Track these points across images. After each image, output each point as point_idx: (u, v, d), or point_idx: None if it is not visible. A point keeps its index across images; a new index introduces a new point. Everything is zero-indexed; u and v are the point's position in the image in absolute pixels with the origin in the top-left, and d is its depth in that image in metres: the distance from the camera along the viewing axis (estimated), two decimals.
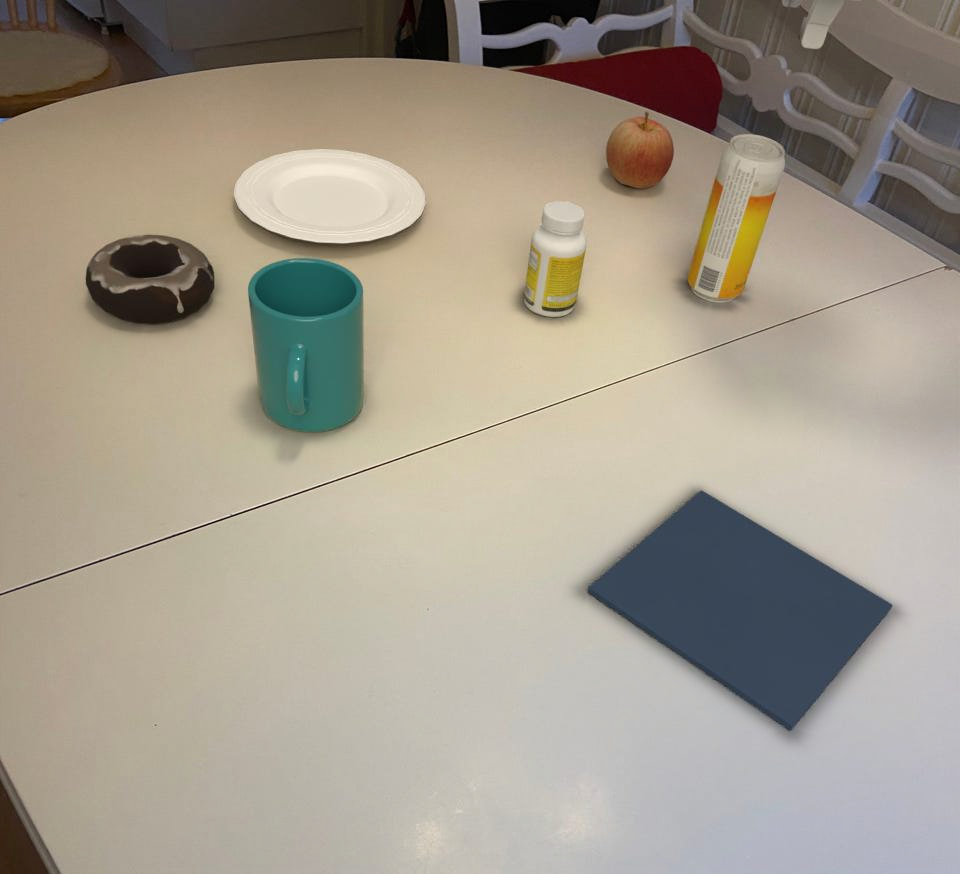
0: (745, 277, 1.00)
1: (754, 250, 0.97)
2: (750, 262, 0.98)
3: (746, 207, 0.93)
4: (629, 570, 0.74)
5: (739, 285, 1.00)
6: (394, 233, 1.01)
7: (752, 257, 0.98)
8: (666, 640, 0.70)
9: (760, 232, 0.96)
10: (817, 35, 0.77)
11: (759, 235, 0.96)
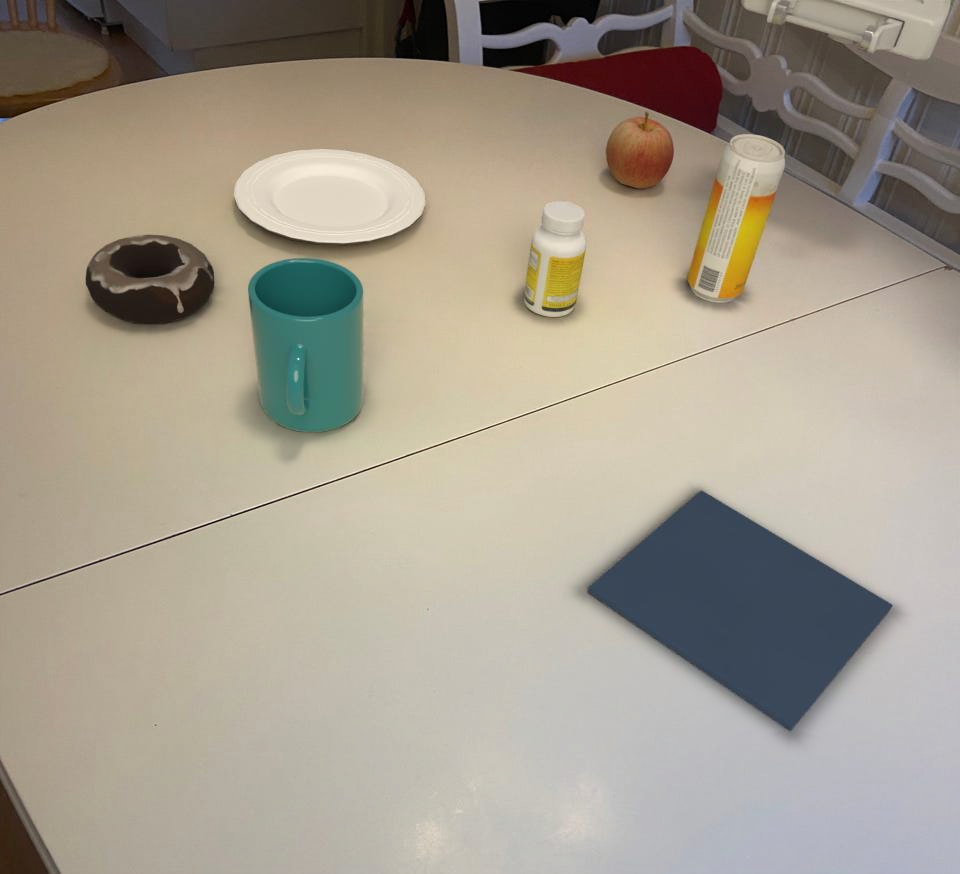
0: (745, 277, 1.00)
1: (754, 250, 0.97)
2: (750, 262, 0.98)
3: (746, 207, 0.93)
4: (629, 570, 0.74)
5: (739, 285, 1.00)
6: (394, 233, 1.01)
7: (752, 257, 0.98)
8: (666, 640, 0.70)
9: (760, 232, 0.96)
10: None
11: (759, 235, 0.96)
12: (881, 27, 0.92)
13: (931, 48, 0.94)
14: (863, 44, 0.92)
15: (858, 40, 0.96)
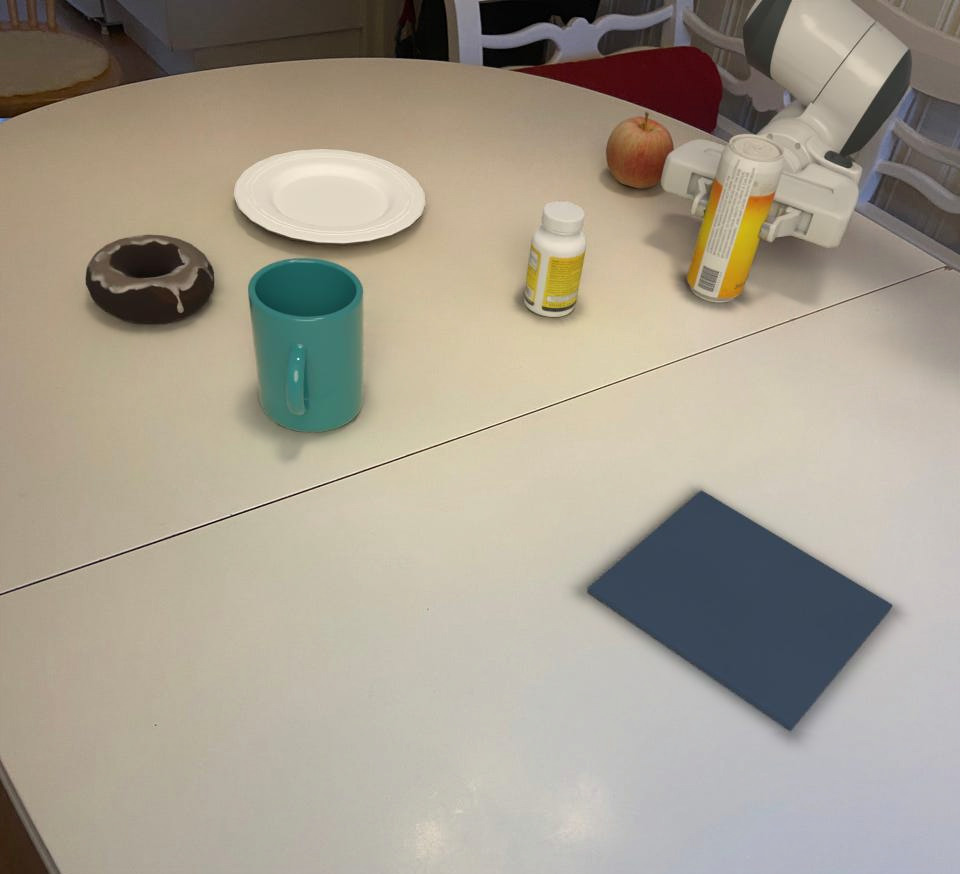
0: (745, 277, 1.00)
1: (754, 250, 0.97)
2: (750, 262, 0.98)
3: (746, 207, 0.93)
4: (629, 570, 0.74)
5: (739, 285, 1.00)
6: (394, 233, 1.01)
7: (752, 257, 0.98)
8: (666, 640, 0.70)
9: None
10: None
11: None
12: (779, 218, 0.96)
13: (839, 238, 0.97)
14: (762, 234, 0.96)
15: None
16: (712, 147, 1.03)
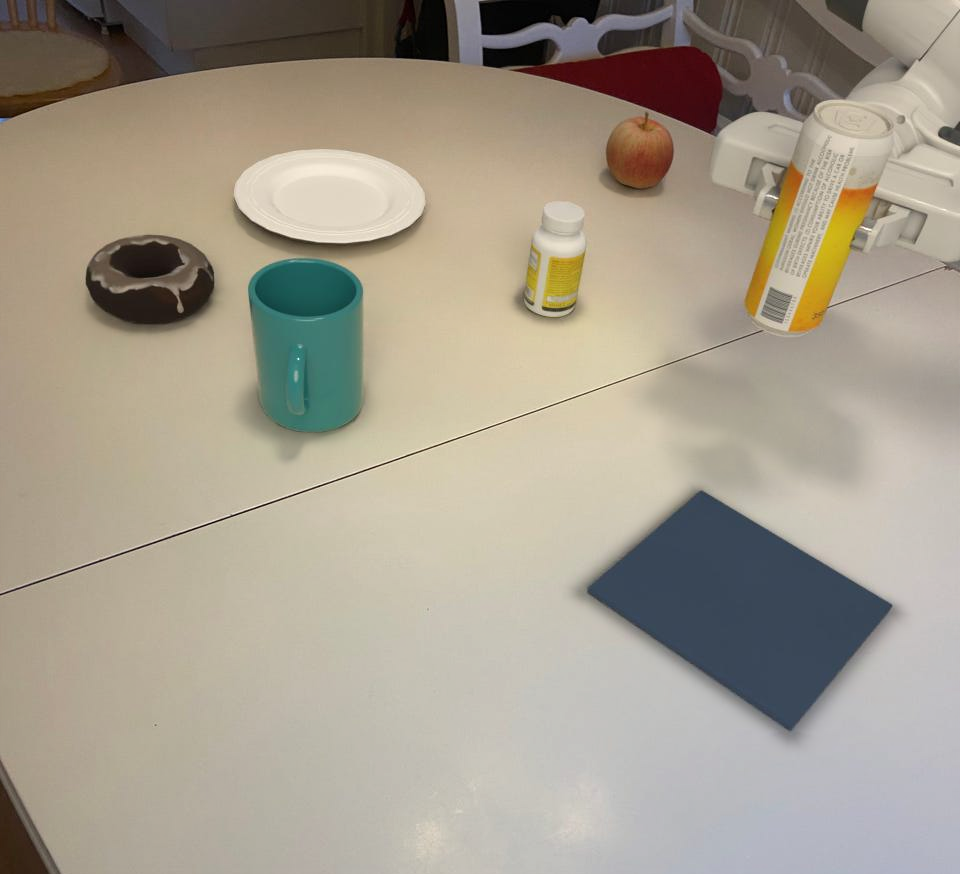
0: (827, 302, 0.71)
1: (842, 265, 0.69)
2: (835, 282, 0.70)
3: (837, 204, 0.65)
4: (629, 570, 0.74)
5: (818, 314, 0.72)
6: (394, 233, 1.01)
7: (839, 275, 0.70)
8: (666, 640, 0.70)
9: None
10: None
11: None
12: (880, 220, 0.67)
13: None
14: (856, 243, 0.67)
15: None
16: (779, 122, 0.74)
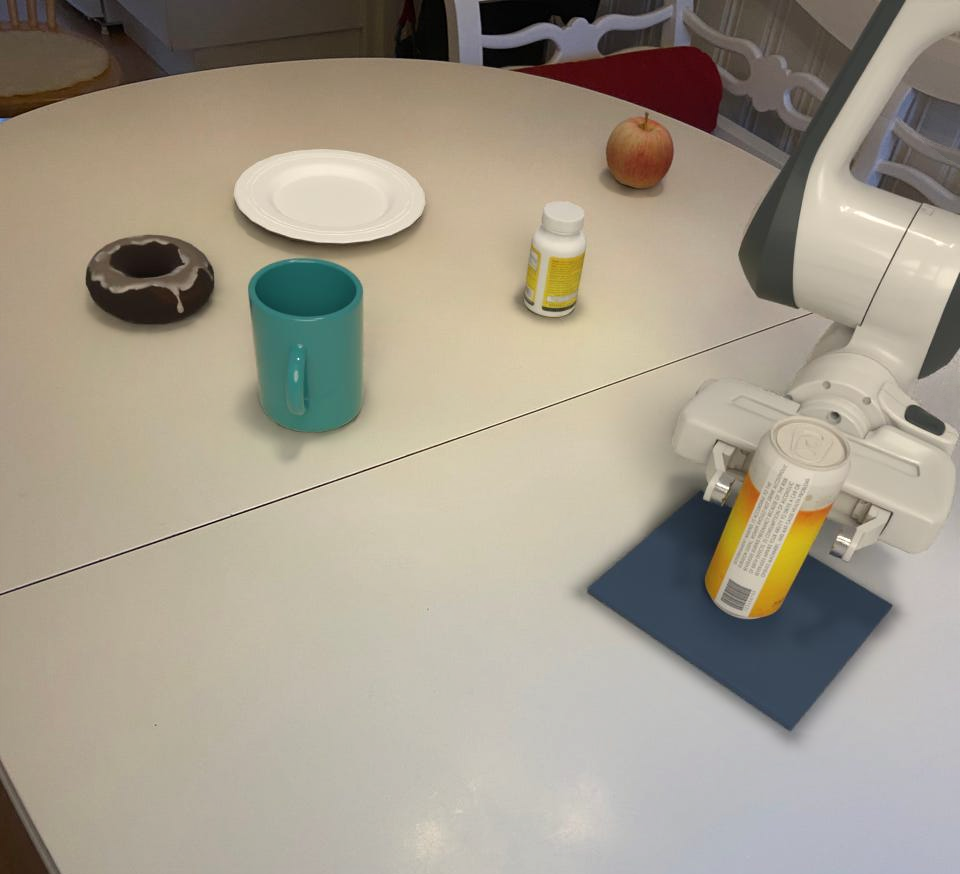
0: (787, 591, 0.71)
1: (801, 563, 0.68)
2: (795, 575, 0.69)
3: (794, 522, 0.64)
4: (629, 570, 0.74)
5: (778, 602, 0.71)
6: (394, 233, 1.01)
7: (798, 570, 0.69)
8: (666, 640, 0.70)
9: (811, 544, 0.67)
10: None
11: (809, 547, 0.67)
12: (860, 528, 0.66)
13: (930, 544, 0.68)
14: (835, 552, 0.66)
15: (830, 518, 0.70)
16: (744, 394, 0.73)
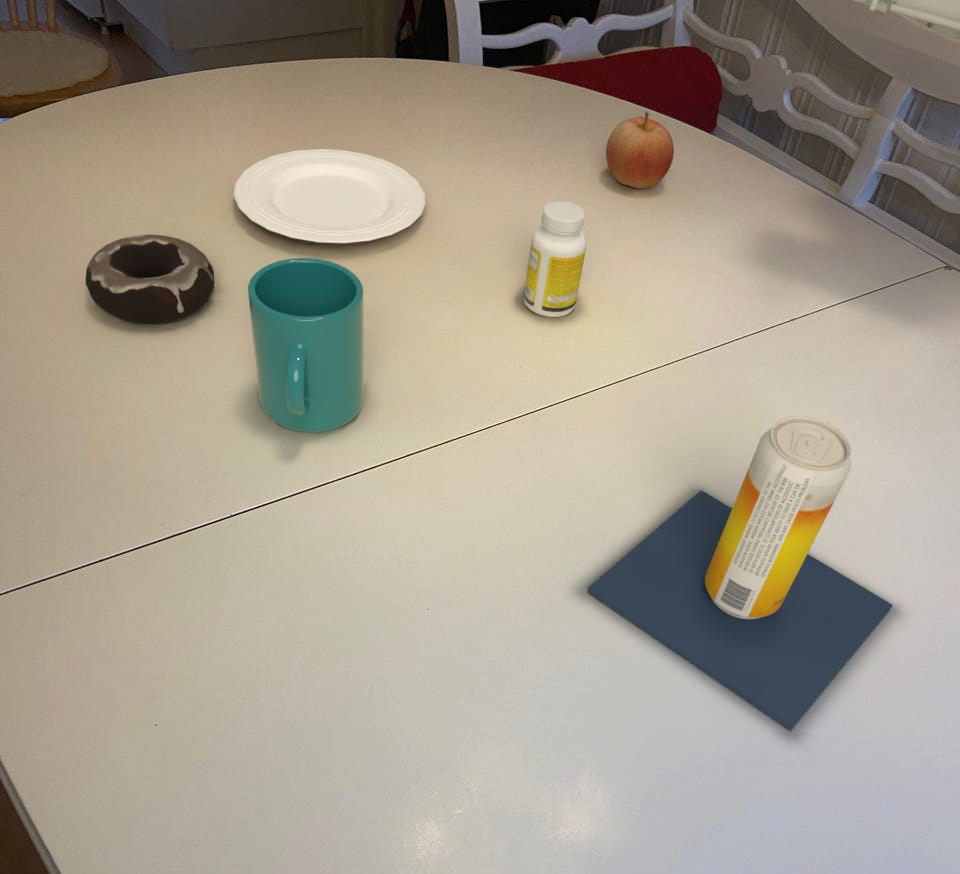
0: (787, 591, 0.71)
1: (801, 563, 0.68)
2: (795, 575, 0.69)
3: (794, 522, 0.64)
4: (629, 570, 0.74)
5: (778, 601, 0.71)
6: (394, 233, 1.01)
7: (798, 570, 0.69)
8: (666, 640, 0.70)
9: (811, 544, 0.67)
10: None
11: (809, 547, 0.67)
12: None
13: None
14: None
15: None
16: None
